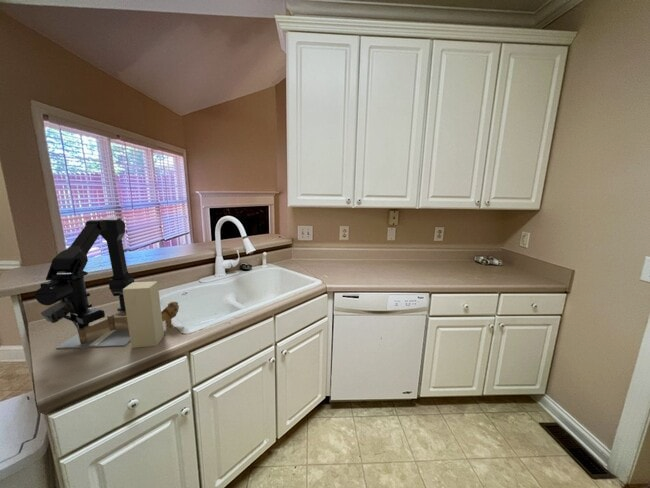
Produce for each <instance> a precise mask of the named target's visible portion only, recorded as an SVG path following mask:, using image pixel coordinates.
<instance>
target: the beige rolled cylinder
mask: <svg viewBox="0 0 650 488" xmlns="http://www.w3.org/2000/svg"><path fill="white" fill-rule="evenodd" d="M100 320H101V321H98V322H96V323H94V322H93V323H94V324H92V323H91V324H89V325H88V326H87V327H84V328H81V329H77V333H78V335H79V339H80V343H81V344H83V343H86V342H87V341H89V340H91V339H93V338H95V337H98V336H100V335H102V334H104V333H106V332H108V331H110V328H109V322H108V319H107V317H106V318H102V319H100Z"/></svg>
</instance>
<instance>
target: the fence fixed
mask: <svg viewBox="0 0 650 488" xmlns="http://www.w3.org/2000/svg"><path fill="white" fill-rule="evenodd" d="M106 318H107V319H108V322H109V328H110V331H113V330H129V328H128V322H127V315H115V314H110V315H107V317H106Z"/></svg>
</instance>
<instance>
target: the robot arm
mask: <svg viewBox="0 0 650 488" xmlns="http://www.w3.org/2000/svg"><path fill="white" fill-rule="evenodd" d="M125 234H126V224H125V221H123V220H122V219H121V218H101V219H89V220H87V221H86V222H85V226H84V227H83V228H82V230H81V231H80V233H79V234H78V235H77V237H76V238H75V239H74V241H73V242H72V244H71V245H70V246H69V247H68V248H66V249H64V250H62V251H60V252H58V254H57V255H56V256H54V258H52V260H51V263H50V266H49V269H48V272H47V274H46V277H45V282H42V283H40V285H39V288H38V289H37V290H36V292H35V294H34V296H35V299H36V301H37V303H39V304H40V305H43V306H50V307H48V308H47V309H45V310H43V311H42V312H41V313H40V315H41V316H42V317H43V318H44V320H46V321H47V322H50V323H52V324H55V323H57V322H59V321H60V320H62V319H66V320H68V321H70V322H72V324H73V325H74V326H75V328H76V330H78V329H81V328H84V327H87V326H89V325H90V323H94V322H95V321H97V320H102V319H104V318H105V317H106V314H105V311H104V310H102V309H100V308H97V307H93V304H92V303H89V300H88V299H89V298H88V297H90V296H91V295H90V292H87V289H86V282H85V278H84V276H88V274H89V272H88V271H85V267H86V266H87V264H88V262H89V259H88V254H89V251H90V250H91V249H92V248H93V245H94V244H95V242H96V241H97V240H98V238H99V237H100V236H101V237H102V238H103V239H104V241H106V245H107V250H108V251H107V252H108V254H109V259H110V260H109V261H110V265H111V271H112V277H111V278H110V279H109V280H108V281H107V282H108V286H109V287H108V288H109V290H110V292H111V294H112V296H113V297H118V300H119V307H117V309H116V310H117V311H126V309H125V302H124V296H123V289H124V288H125V287H127V286H128V285H130V284H131V283H133V282H136V281H135V279H134V277H133V275H131V274H130V273H129V271H128V268H127V267H128V266H127V260H126V256H125V249H124V244H123V238H124V235H125ZM92 307H93V308H92Z"/></svg>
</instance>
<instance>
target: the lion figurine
mask: <svg viewBox="0 0 650 488" xmlns="http://www.w3.org/2000/svg"><path fill="white" fill-rule="evenodd" d="M179 307H180V305H179V303H178V301H170V302H169V303H167V306H166V307H165V308H164V309H162V310H161V314H162V322H165V325H166V326H168V327H169V328H173V327H174V325H173V324H172V319H174V318H175V317H177V314H178V312H179V309H180V308H179Z"/></svg>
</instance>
